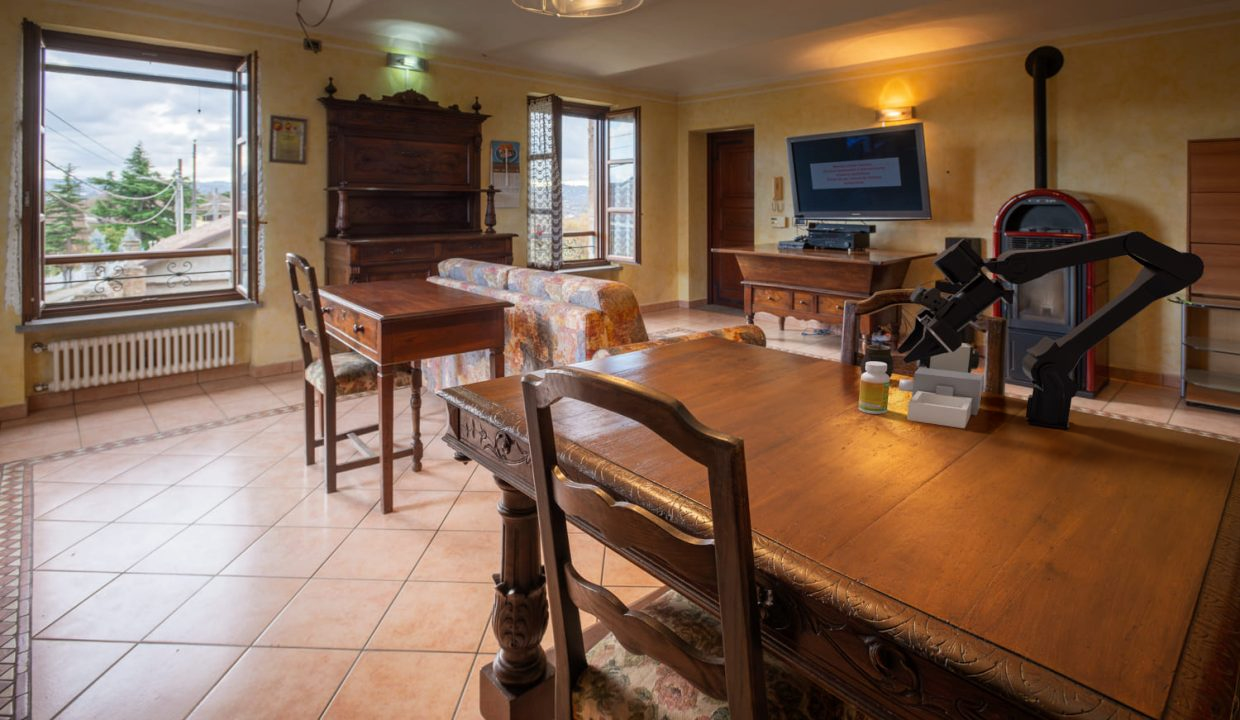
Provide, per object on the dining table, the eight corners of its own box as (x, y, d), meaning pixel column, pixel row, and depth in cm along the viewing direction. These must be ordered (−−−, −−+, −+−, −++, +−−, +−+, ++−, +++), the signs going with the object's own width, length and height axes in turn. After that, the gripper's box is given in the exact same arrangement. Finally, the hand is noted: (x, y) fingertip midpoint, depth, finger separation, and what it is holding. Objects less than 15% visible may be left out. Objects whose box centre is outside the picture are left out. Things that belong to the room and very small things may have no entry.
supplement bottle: (886, 415, 137) (891, 367, 135) (857, 412, 139) (861, 365, 137) (887, 408, 142) (891, 361, 140) (859, 405, 144) (862, 359, 142)
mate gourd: (887, 376, 169) (890, 336, 167) (897, 384, 161) (900, 341, 159) (856, 376, 169) (859, 335, 167) (865, 383, 162) (868, 341, 160)
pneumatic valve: (975, 397, 150) (981, 342, 148) (917, 394, 153) (922, 340, 150) (968, 391, 156) (974, 337, 153) (912, 387, 158) (917, 335, 156)
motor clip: (979, 408, 142) (983, 374, 141) (970, 429, 128) (974, 392, 127) (901, 397, 150) (904, 365, 148) (885, 416, 136) (888, 381, 135)
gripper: (931, 267, 141) (868, 319, 146) (949, 275, 123) (877, 334, 128) (969, 308, 140) (905, 358, 145) (993, 322, 123) (919, 379, 128)
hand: (901, 356), depth 137 cm, fingers open, 9 cm apart
